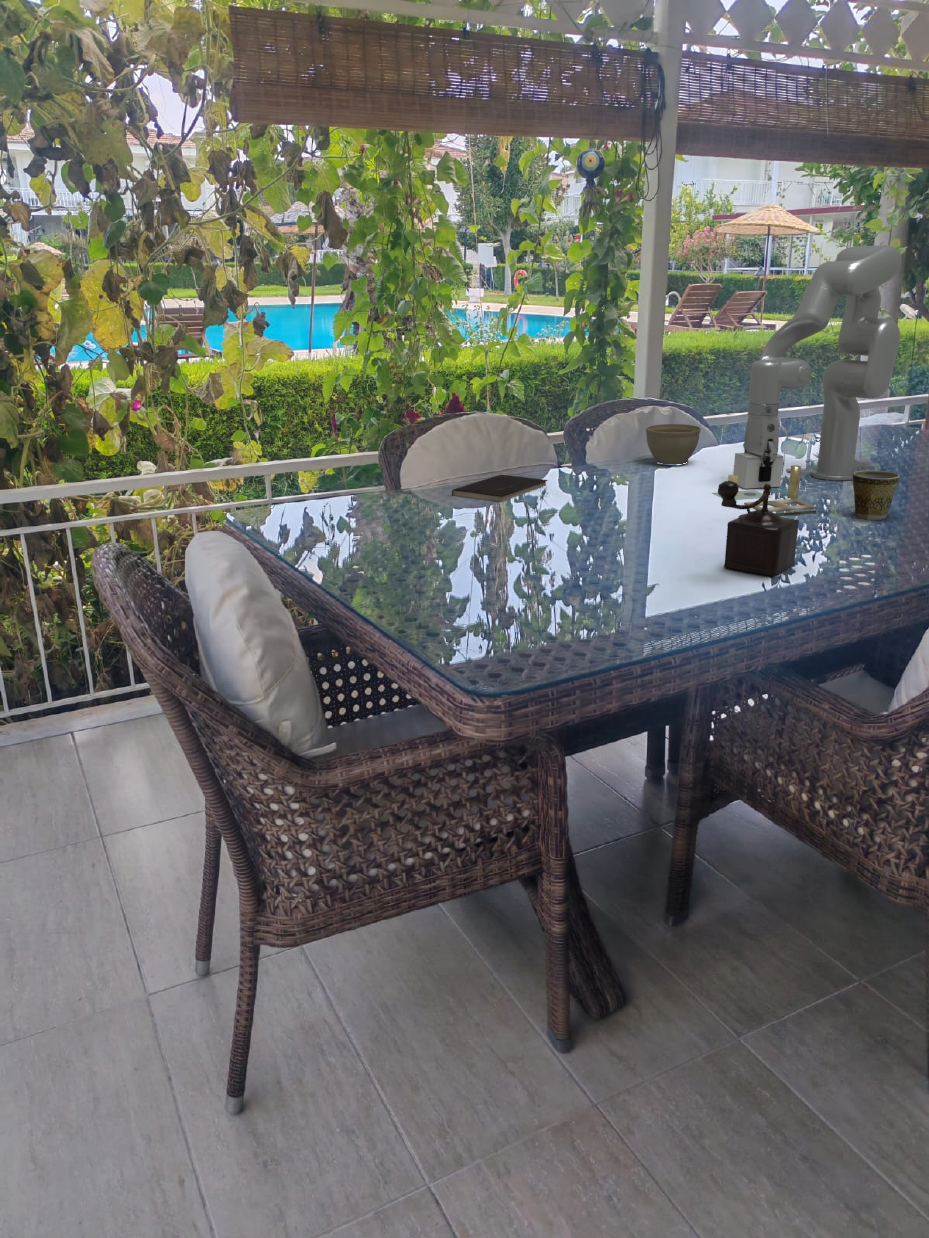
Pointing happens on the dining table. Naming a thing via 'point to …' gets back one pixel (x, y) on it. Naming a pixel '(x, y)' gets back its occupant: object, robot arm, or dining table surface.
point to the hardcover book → (499, 488)
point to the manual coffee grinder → (758, 536)
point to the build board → (787, 507)
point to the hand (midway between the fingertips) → (757, 478)
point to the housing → (755, 470)
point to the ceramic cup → (873, 493)
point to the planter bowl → (672, 442)
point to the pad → (743, 494)
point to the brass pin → (794, 481)
